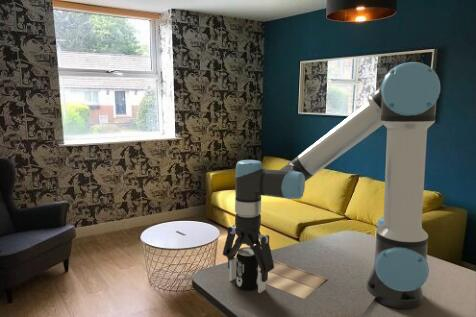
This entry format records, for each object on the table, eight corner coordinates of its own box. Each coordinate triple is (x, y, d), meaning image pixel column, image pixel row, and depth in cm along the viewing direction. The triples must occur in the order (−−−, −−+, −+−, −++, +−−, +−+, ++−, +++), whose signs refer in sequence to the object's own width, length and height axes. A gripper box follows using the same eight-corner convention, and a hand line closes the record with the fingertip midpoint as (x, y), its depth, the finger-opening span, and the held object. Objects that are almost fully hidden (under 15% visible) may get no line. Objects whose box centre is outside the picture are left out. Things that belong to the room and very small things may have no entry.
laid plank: (316, 292, 106) (316, 288, 106) (304, 302, 101) (304, 299, 100) (251, 268, 121) (251, 264, 121) (237, 276, 116) (237, 272, 115)
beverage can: (256, 295, 104) (256, 256, 102) (234, 293, 105) (234, 254, 104) (259, 284, 111) (260, 247, 109) (238, 282, 112) (238, 245, 110)
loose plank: (326, 282, 112) (326, 278, 111) (316, 292, 106) (316, 288, 106) (263, 260, 127) (263, 256, 126) (251, 268, 121) (251, 264, 121)
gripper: (288, 218, 100) (286, 292, 104) (226, 203, 114) (226, 268, 118) (273, 225, 94) (271, 303, 98) (210, 208, 108) (210, 277, 112)
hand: (247, 284), depth 108 cm, fingers open, 10 cm apart
